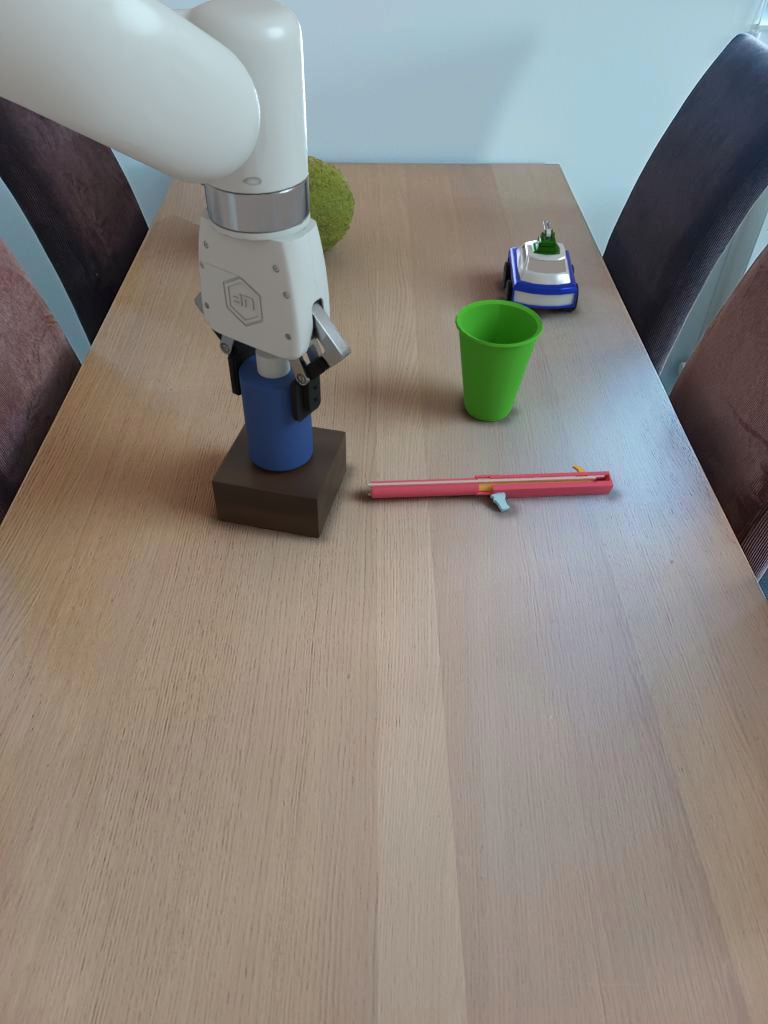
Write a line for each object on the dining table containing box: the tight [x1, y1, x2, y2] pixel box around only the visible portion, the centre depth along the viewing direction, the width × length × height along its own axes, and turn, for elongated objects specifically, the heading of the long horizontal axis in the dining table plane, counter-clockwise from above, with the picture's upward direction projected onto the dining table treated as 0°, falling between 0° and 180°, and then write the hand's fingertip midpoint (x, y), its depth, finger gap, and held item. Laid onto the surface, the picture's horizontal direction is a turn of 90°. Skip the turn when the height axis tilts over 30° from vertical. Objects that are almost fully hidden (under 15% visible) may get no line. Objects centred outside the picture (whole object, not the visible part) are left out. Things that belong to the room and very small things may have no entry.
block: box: [211, 423, 347, 539], centre depth 77 cm, size 10×10×5 cm
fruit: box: [308, 155, 356, 253], centre depth 112 cm, size 16×14×15 cm
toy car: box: [502, 220, 580, 312], centre depth 105 cm, size 9×12×10 cm
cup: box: [454, 299, 544, 422], centre depth 86 cm, size 9×9×11 cm
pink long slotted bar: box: [367, 464, 614, 512], centre depth 79 cm, size 24×2×5 cm
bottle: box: [239, 348, 313, 471], centre depth 72 cm, size 6×6×11 cm
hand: (276, 398), depth 71 cm, fingers closed on bottle, 6 cm apart
